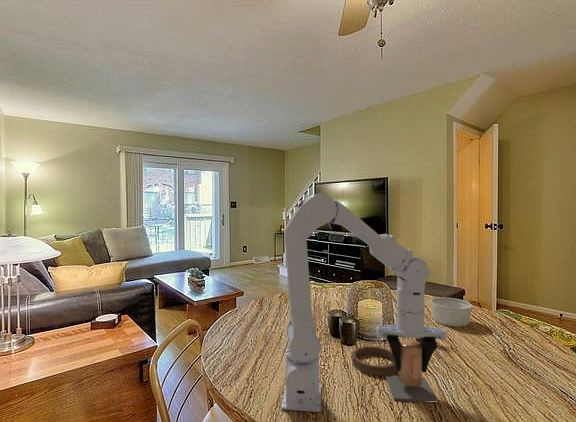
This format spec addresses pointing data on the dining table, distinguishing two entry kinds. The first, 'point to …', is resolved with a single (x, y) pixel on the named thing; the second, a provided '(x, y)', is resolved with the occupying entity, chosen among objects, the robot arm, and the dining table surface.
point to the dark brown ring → (373, 368)
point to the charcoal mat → (410, 390)
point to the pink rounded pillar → (410, 363)
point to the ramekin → (451, 311)
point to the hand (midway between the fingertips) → (410, 369)
